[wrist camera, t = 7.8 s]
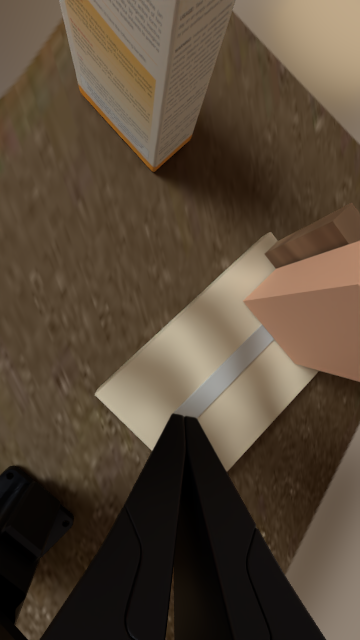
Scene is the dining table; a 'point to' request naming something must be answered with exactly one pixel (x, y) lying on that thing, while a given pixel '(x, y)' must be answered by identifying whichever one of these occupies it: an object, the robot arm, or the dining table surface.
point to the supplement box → (146, 65)
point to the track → (223, 352)
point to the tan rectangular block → (315, 310)
